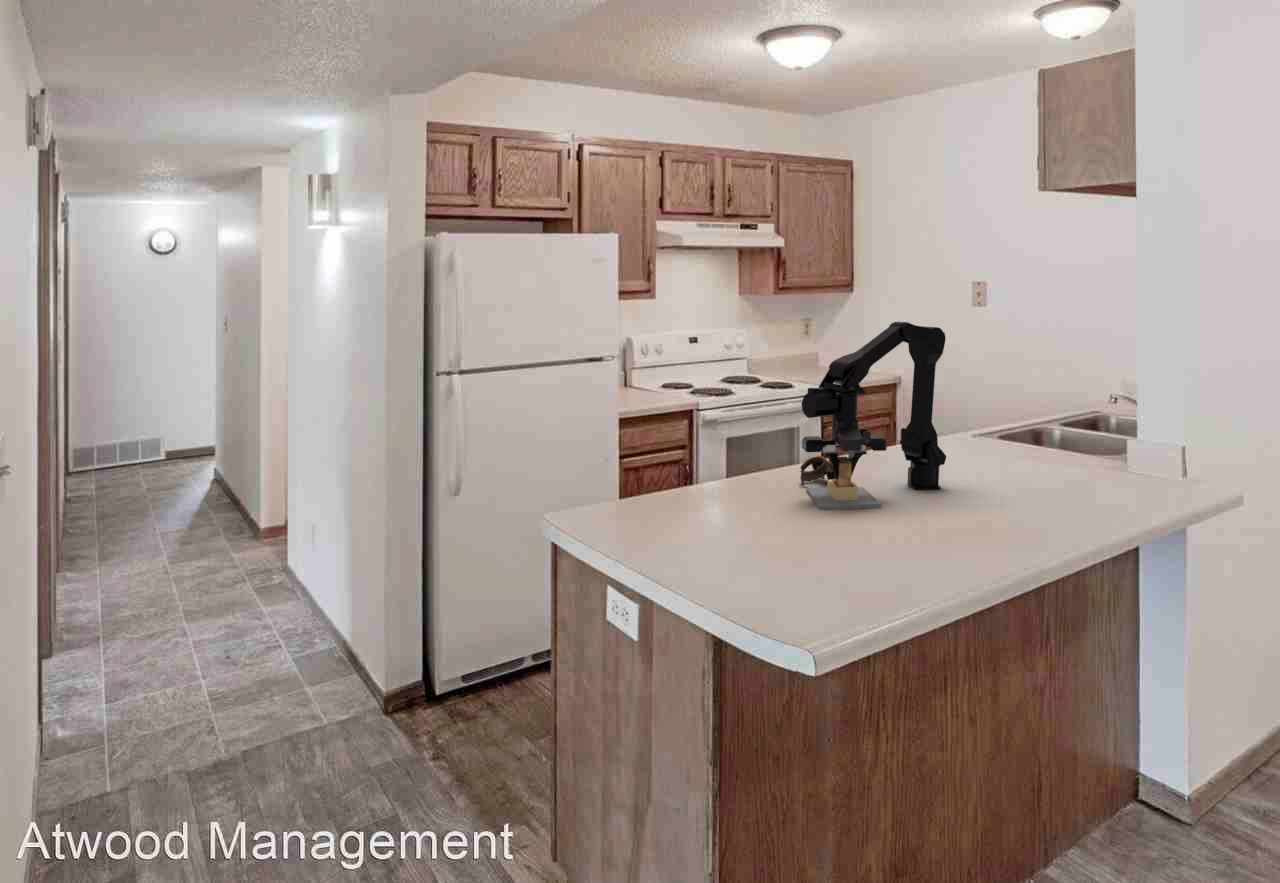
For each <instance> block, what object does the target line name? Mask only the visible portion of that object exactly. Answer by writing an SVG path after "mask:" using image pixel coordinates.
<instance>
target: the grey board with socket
mask: <svg viewBox="0 0 1280 883" xmlns="http://www.w3.org/2000/svg"><path fill="white" fill-rule="evenodd" d="M826 481H827V484H826V485H827V486H826V487H807V488H805V490H806V491H805V493H806V494H807V495H808V496H809V498H810V497H811V498H810V499H811V500H812V501H813V503H814V502H815V503H814V504H815V505H816V507H819V508H818V509H819V510H853V509H854V510H855V509H856V510H857V509H859V510H860V509H862V510H863V508H864V509H882V503H881V502H880V501H879V499H877V498H875V497H874V496H873V495H872V494H871V493H870V492H869V491H868V490H867V489H866V488H865V487H864V486H858V485H857V484H855V482H854V481H853V480H851V487H837V486H836V484H835V480H828V479H827V480H826Z"/></svg>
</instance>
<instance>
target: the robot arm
mask: <svg viewBox="0 0 1280 883" xmlns="http://www.w3.org/2000/svg"><path fill="white" fill-rule="evenodd" d="M902 343H905V344H907V345H908V353H909V355H910V356H911V359H912V361H913V365H914V366H913V377H912V378H913V379H912V393H911V394H912V396H911V408H910V421H909V423H908V425H907V426H906V427H902V428H901V430H900V440H899V445H901V451H903V453H904V457H905V461H909V463H910V464H909V466H910V467H907V485H909V486H910V487H911V488H913V490H941V488H942V486H940V485H939V480H940V467H941V466H942V465H945V463H946V460H947V455H946V454H945V453H944V451H943V450H942V449H941V448H940V446H939V442H938V433H937V431H936V428H935V426H934V425H933V408H934V393H935V381H936V380H935V379H936V366H937V363H938V362H939V360H940V359H941V357H942V356H943V354H944V349H945V344H946V333H945V332H944V331H943V329H942V328H940V327H936V326H921V325H916V324H912V323H910V322H908V321H893V322H892V323H890V324H889V325H888V327H886V329H884V330H883V331H882V332H880V333H879V334H878V335H877V336H874V338H872V339H871V340H870V341H869V342H867V343H865V344H864V345H863V346H862V347H861V348H859V349H858V350H856V351H854V352H852V353H849V354H845V355H843V356H841V357H838V358H837V359H835V360H833V361H832V362H831V363H830V364H829V366H828V371H827V372H826V374H825V375H824V377H823V378H822V381H821V382H820V384H819V385H818V387H808V388H807V393H806V394H805V395H804V396H803V398H802V401H801V410H802V412H803V415H804V416H805V417H806V418H808V419H810V418H811V419H812V418H821V417H822V418H823V417H830V416H831V433H830V439H822V438H821V436H816V435H814V436H813V435H812V436H807V435H806V436H804V437H803V438H802V439H801V448H802V449H803V450H804V452H806V453H823V455H824V456H826V458H827V460H828V461H830V464H831V466H832V469H833V472H834V475H835V478H836V480H838V475H839V472H838V457H839V452H838V451H836V450H837V449H838V448H839V450H840V451H841V452H848V455H847V456H848V457H847V458H849V459H850V460H851V461H852V462H851V477H853V474H854V471H855V468H856V466H857V463H858V462H859V460H860V458H861V457H863V456H864V455H867V453H868V451H866V449H867V447H868V448H870V449H871V450H872V451H873V452H881V451H882V452H885V451H887V445H888V443H887V440H886V438H884V437H883V436H881V435H879V434H871V433H872V432H871V430H870V428H861V429H860V427H859V421H858V395H865V394H866V390H865V389H864V388H863V387H861V386H860V383H861V382H862V381H863V380H864V379H865V378H866V377H867V376H868V374H869V371H870V368H872V366H873V365H875V364H876V363H877V362H878V361H880V360H881V359H882V358H884V356H886V355H888V354H889V353H890V352H891V351H893V350H894V349H895V348H896V347H898V346H899V345H900V344H902Z"/></svg>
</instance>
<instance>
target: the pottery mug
mask: <svg viewBox="0 0 1280 883" xmlns="http://www.w3.org/2000/svg"><path fill="white" fill-rule="evenodd" d="M809 466H811V468H812V470H810V471H809V470H808V471H806V470H807V468H808V467H809ZM800 469H801V470H800V471H799V472H800V482H801V484H802V485H804V484H805V482H809V483H810V482H813V481H816V480H819V479H822V480H825V478H827V481H828V480H835V475H834V472H833V469H832V466H831V464H830V461H829V459H827V457H826V456H822V455H817V456H813V457H811V458H809V459H807V460H805V461H804V462H803V463H802V464H801V466H800ZM825 476H826V477H825Z"/></svg>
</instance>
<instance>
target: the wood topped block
mask: <svg viewBox="0 0 1280 883" xmlns="http://www.w3.org/2000/svg"><path fill="white" fill-rule="evenodd" d="M851 462H852V461H851V460H850V459H849V458H848V457H847V456H838V472H839V475H838V480H836V478H835V484H836V486H837V487H851V481H852V476H851Z"/></svg>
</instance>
